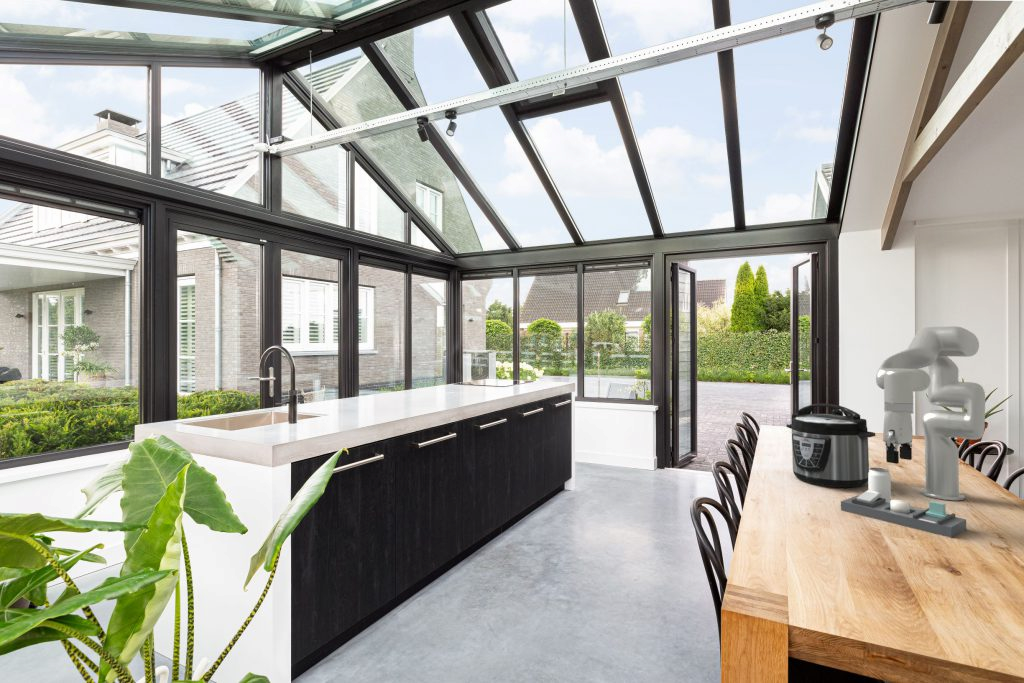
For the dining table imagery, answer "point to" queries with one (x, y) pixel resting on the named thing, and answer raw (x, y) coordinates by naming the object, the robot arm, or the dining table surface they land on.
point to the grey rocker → (869, 496)
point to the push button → (900, 506)
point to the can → (880, 482)
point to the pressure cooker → (830, 447)
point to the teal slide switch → (936, 510)
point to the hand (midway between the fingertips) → (899, 461)
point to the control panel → (906, 517)
